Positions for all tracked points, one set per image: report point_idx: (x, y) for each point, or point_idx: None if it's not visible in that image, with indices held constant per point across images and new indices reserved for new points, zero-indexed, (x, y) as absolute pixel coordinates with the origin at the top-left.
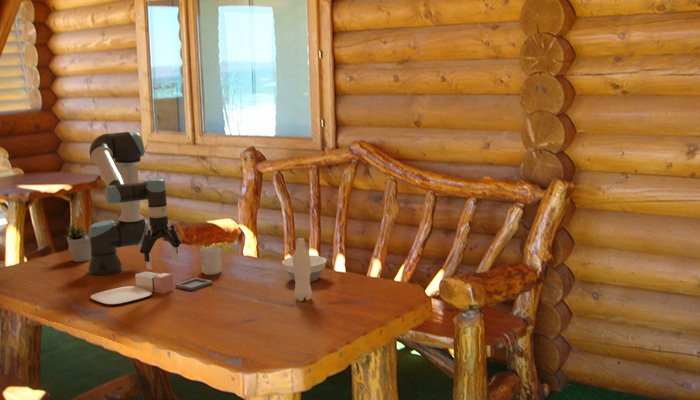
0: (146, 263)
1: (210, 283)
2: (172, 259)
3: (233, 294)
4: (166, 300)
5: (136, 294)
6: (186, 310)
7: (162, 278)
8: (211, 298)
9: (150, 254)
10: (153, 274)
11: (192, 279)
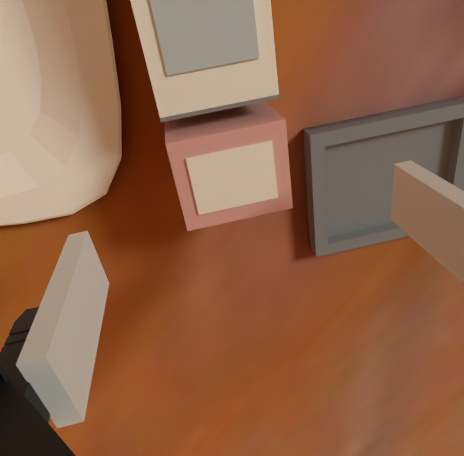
0: (56, 270)
1: None
2: (407, 184)
3: (367, 377)
4: (138, 295)
5: (28, 88)
6: (137, 431)
7: (197, 225)
8: (287, 374)
9: (71, 418)
10: (224, 22)
11: (442, 115)
